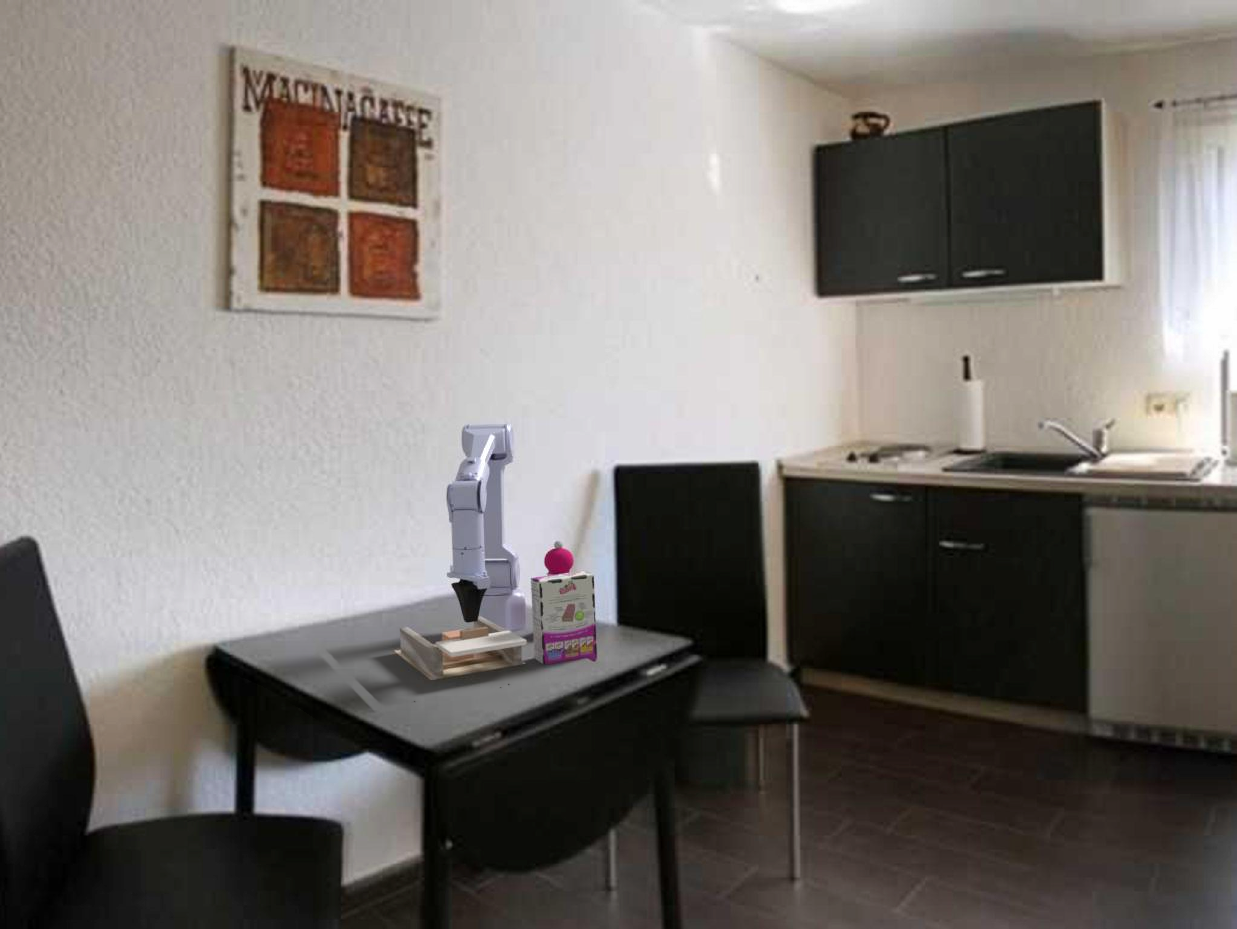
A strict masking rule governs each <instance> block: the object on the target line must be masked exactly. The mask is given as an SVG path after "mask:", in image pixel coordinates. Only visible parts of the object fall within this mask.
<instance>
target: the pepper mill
mask: <svg viewBox="0 0 1237 929" xmlns="http://www.w3.org/2000/svg"><path fill="white" fill-rule="evenodd" d="M553 546H554V548H552V549H550V550H548V551H547V552H546V554H545V556H544V558H543V559H544V560H543V563H544V567H545V568H546V570H548V572H547V573H546V576H549V575H557V574H564V573H572V571H571V569H572V568H573V566H574V563H575V562H574V561H575V560H574V556H573V554H572V552H571V551H570V550H569V549H567V548H563V546H564V544H563V542H562V541H560V540H556V541H555V542H554V544H553Z"/></svg>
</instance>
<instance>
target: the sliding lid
mask: <svg viewBox="0 0 1237 929" xmlns="http://www.w3.org/2000/svg"><path fill="white" fill-rule="evenodd" d="M460 630H461V631H460V638H458V639H452V640H445V641H442V640H440V641H435V644H436V647H437V648H439V649H440V650H442V651H443V652H445V653H446V654H448V655H449V656H450V657H455V656H461V655H467V654H473V653H479V652H485V651H492V650H498V649H504V648H510V647H516V646H522V647H523V646H526V645H528V641H527V639H525V638H524V637H522V636H520V635H518V634H516V633H514V632H513V631H503V632H496V633H490V634H489V633H488V628H487V627H481V628H474V627H473V628H469V629H468V628H467V629H465V630H462V629H460Z"/></svg>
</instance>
